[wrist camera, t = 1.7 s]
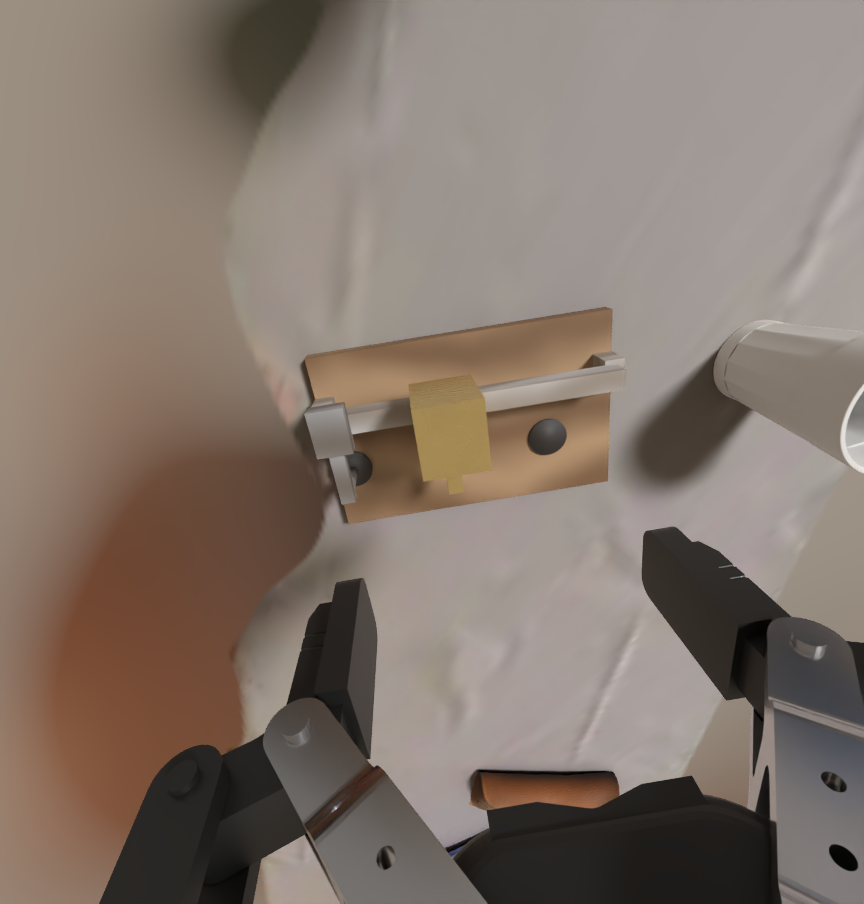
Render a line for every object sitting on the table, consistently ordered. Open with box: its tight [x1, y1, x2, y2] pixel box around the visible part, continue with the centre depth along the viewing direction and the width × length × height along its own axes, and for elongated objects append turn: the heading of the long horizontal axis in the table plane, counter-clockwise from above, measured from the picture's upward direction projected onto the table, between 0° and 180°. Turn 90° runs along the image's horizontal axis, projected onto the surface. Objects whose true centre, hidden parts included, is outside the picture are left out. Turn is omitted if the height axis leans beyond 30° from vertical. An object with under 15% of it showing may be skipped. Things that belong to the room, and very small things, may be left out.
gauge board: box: [304, 307, 626, 524], centre depth 32 cm, size 14×22×6 cm, turn 98°
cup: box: [713, 320, 864, 474], centre depth 30 cm, size 8×8×12 cm
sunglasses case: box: [469, 770, 619, 810], centre depth 56 cm, size 18×7×7 cm, turn 82°
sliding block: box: [408, 374, 492, 495], centre depth 29 cm, size 8×4×9 cm, turn 8°
